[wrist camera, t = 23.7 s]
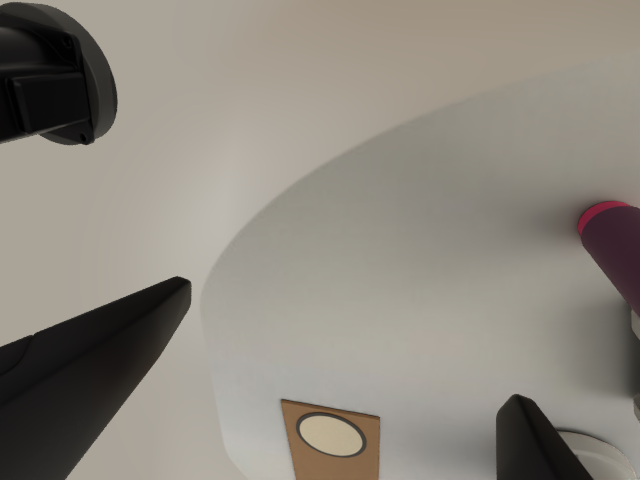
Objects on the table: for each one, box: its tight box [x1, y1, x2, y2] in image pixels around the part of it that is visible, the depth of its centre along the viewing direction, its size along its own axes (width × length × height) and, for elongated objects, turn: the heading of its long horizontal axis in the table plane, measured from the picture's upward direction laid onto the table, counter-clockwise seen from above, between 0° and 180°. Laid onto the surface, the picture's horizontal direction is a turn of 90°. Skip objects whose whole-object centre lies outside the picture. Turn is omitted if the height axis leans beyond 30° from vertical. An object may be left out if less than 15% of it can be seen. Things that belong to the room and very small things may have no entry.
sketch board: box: [281, 400, 380, 480], centre depth 35 cm, size 16×9×1 cm, turn 4°
